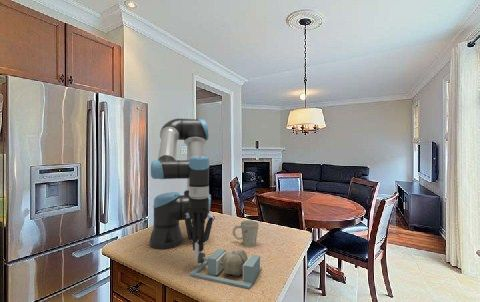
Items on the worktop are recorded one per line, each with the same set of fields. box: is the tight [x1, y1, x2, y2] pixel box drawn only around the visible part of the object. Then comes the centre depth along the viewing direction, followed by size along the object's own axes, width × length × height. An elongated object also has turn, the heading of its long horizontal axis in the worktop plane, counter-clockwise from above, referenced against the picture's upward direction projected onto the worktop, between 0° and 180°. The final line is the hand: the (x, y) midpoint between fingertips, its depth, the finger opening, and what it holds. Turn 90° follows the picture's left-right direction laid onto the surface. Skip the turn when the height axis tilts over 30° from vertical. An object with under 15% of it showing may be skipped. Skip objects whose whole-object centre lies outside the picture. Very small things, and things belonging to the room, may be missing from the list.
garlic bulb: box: [221, 248, 249, 277], centre depth 88 cm, size 9×8×10 cm
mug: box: [232, 220, 260, 247], centre depth 116 cm, size 8×13×10 cm, turn 78°
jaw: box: [197, 248, 228, 277], centre depth 91 cm, size 9×9×6 cm
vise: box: [189, 254, 263, 290], centre depth 89 cm, size 22×14×6 cm, turn 69°
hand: (198, 259), depth 93 cm, fingers closed
